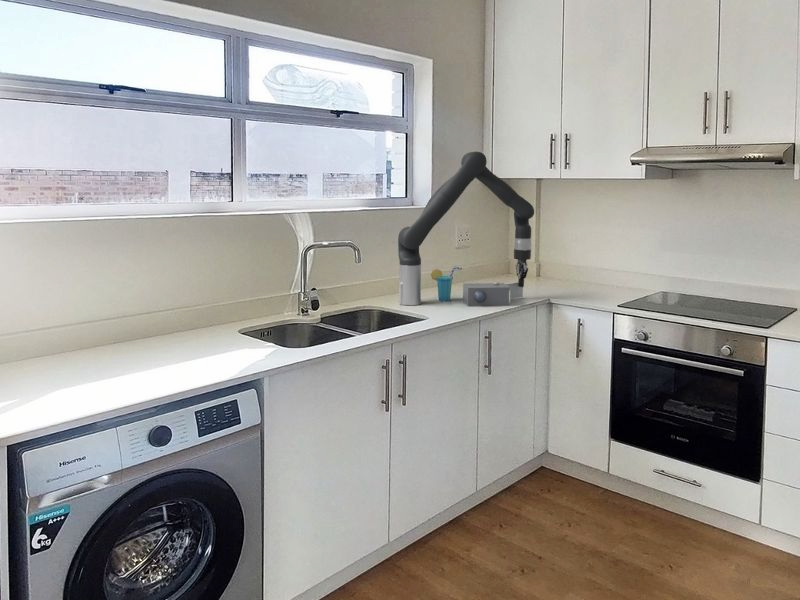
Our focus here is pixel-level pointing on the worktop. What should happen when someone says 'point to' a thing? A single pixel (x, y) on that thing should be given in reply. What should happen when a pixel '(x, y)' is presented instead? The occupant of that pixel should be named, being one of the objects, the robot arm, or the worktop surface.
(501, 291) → the grey knobbed box
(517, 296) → the side door
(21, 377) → the worktop surface
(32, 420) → the worktop surface
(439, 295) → the cup
